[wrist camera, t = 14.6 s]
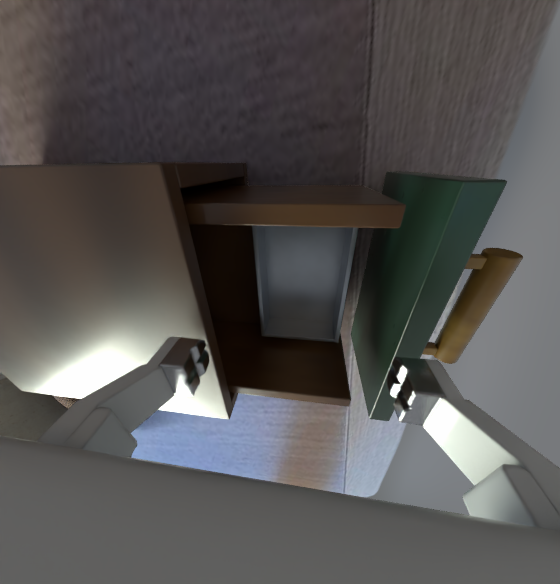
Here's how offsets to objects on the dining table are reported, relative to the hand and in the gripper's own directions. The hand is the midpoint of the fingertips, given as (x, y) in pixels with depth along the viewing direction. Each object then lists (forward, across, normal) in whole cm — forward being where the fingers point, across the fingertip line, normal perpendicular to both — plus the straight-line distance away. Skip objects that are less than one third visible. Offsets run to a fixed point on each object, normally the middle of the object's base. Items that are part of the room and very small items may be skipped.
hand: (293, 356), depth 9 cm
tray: (+8, 0, 0) cm, 8 cm away
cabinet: (+10, +12, 0) cm, 16 cm away
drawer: (+9, 0, 0) cm, 9 cm away
